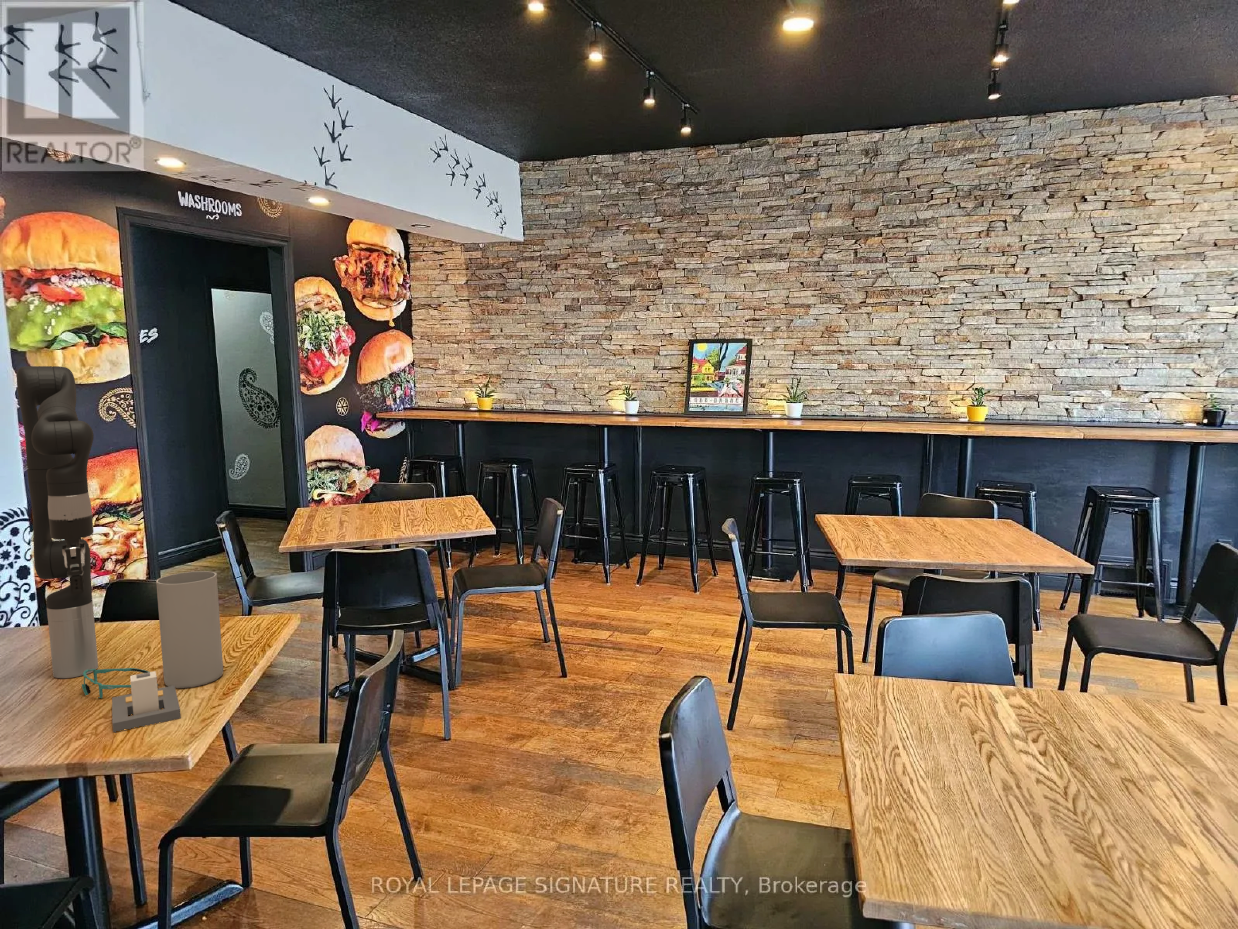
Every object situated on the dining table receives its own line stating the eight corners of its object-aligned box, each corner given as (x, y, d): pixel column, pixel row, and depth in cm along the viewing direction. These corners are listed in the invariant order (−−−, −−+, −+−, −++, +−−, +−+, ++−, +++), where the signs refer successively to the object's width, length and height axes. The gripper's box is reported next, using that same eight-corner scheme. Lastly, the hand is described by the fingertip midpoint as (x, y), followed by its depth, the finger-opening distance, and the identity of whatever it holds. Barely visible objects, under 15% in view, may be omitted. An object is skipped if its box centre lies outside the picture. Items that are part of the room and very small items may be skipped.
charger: (133, 716, 165) (130, 674, 164) (158, 711, 167) (155, 669, 166) (134, 723, 161) (130, 680, 160) (159, 717, 164) (156, 675, 163)
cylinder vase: (161, 677, 187) (153, 576, 184) (218, 666, 194) (211, 568, 191) (167, 693, 177) (159, 587, 174) (227, 681, 184) (220, 578, 181)
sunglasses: (78, 686, 182) (79, 665, 182) (151, 677, 192) (152, 657, 192) (83, 705, 172) (84, 683, 171) (161, 694, 181) (161, 673, 181)
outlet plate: (112, 706, 170) (111, 696, 170) (175, 693, 177) (174, 684, 176) (113, 733, 157) (112, 722, 157) (180, 718, 163) (179, 707, 163)
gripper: (50, 511, 168) (57, 583, 170) (47, 522, 156) (55, 599, 158) (91, 507, 172) (98, 578, 174) (92, 518, 161) (99, 593, 163)
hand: (77, 588), depth 166 cm, fingers open, 8 cm apart
